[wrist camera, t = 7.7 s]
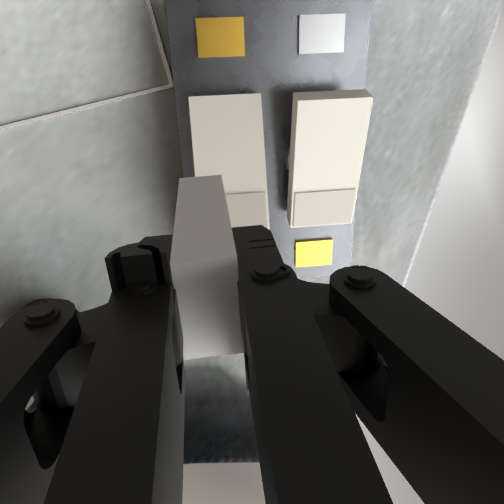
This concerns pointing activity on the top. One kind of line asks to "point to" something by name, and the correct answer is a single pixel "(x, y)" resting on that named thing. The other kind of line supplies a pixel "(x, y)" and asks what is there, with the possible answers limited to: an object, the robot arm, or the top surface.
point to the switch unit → (272, 89)
